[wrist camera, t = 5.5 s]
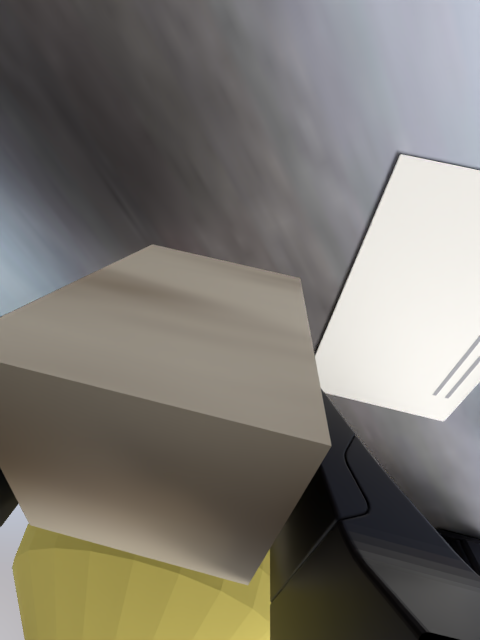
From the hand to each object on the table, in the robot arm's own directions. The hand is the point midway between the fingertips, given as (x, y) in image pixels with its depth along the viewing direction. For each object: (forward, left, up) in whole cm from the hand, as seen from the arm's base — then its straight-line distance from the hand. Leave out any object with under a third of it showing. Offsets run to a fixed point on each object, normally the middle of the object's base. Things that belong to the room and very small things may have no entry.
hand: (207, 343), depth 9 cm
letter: (0, -11, -7) cm, 13 cm away
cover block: (0, 0, -1) cm, 1 cm away
